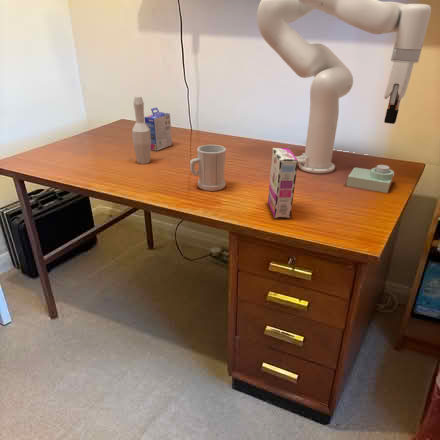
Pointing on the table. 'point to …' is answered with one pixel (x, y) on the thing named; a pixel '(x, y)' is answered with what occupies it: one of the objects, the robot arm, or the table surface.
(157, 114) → the ink cartridge box
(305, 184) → the table surface
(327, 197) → the table surface
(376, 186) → the green push button box
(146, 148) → the faceted bottle
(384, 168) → the grey push button
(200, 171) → the cup
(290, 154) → the candy bar box
